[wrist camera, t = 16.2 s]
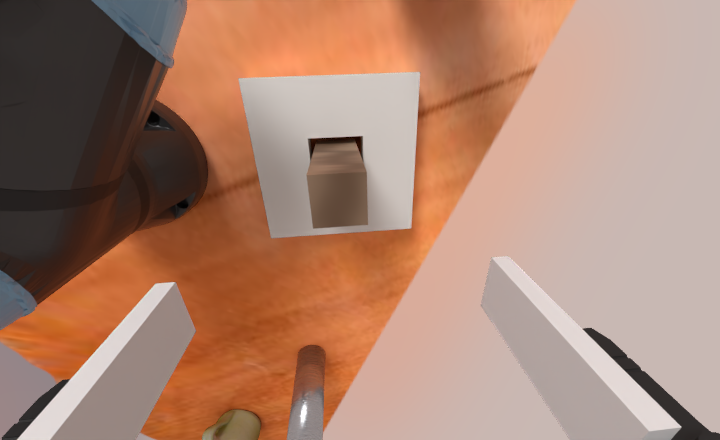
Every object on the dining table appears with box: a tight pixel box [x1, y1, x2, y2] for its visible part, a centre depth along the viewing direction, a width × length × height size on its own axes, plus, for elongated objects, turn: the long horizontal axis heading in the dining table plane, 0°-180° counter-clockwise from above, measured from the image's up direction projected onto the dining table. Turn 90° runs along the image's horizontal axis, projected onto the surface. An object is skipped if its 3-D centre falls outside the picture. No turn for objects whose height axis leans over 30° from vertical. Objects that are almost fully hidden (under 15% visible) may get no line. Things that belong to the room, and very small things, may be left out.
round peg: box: [287, 345, 325, 440], centre depth 43 cm, size 5×5×14 cm
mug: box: [202, 409, 261, 440], centre depth 52 cm, size 12×10×10 cm
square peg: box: [306, 138, 368, 229], centre depth 28 cm, size 4×4×14 cm
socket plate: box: [238, 72, 420, 238], centre depth 33 cm, size 18×18×3 cm
